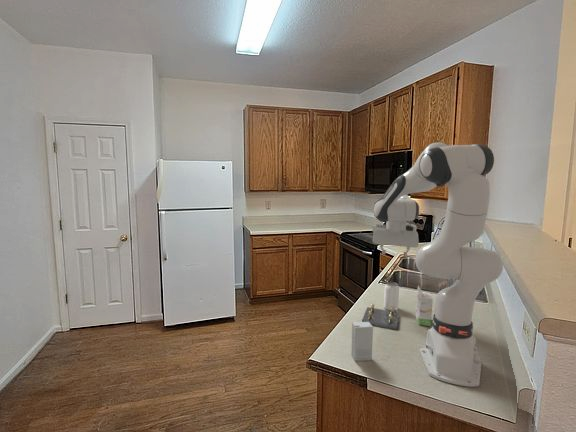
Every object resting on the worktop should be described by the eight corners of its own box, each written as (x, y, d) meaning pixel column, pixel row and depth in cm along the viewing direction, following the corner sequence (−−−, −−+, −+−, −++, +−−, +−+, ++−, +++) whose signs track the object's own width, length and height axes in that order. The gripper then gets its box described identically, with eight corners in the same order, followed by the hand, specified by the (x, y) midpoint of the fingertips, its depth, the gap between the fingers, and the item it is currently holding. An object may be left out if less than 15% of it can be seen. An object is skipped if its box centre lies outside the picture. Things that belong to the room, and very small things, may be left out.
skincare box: (367, 354, 112) (369, 320, 110) (372, 361, 107) (374, 326, 106) (350, 354, 111) (351, 321, 110) (354, 362, 107) (355, 327, 105)
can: (399, 311, 149) (401, 286, 148) (385, 311, 149) (387, 285, 148) (395, 305, 155) (396, 281, 154) (382, 305, 156) (383, 281, 154)
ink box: (431, 326, 134) (434, 292, 132) (418, 325, 135) (421, 291, 133) (426, 317, 143) (429, 285, 141) (415, 316, 144) (417, 284, 142)
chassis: (396, 329, 131) (397, 319, 130) (361, 323, 136) (362, 313, 135) (398, 315, 144) (399, 305, 144) (367, 310, 150) (367, 300, 149)
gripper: (372, 224, 148) (370, 254, 150) (419, 228, 141) (417, 258, 143) (373, 222, 154) (372, 251, 156) (419, 226, 147) (417, 255, 148)
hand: (394, 254), depth 149 cm, fingers open, 8 cm apart
